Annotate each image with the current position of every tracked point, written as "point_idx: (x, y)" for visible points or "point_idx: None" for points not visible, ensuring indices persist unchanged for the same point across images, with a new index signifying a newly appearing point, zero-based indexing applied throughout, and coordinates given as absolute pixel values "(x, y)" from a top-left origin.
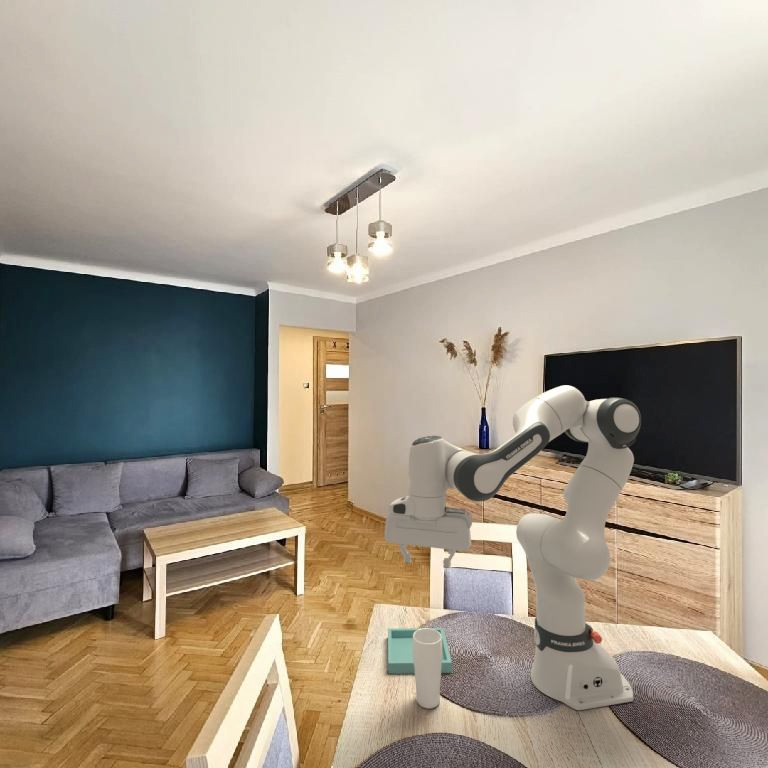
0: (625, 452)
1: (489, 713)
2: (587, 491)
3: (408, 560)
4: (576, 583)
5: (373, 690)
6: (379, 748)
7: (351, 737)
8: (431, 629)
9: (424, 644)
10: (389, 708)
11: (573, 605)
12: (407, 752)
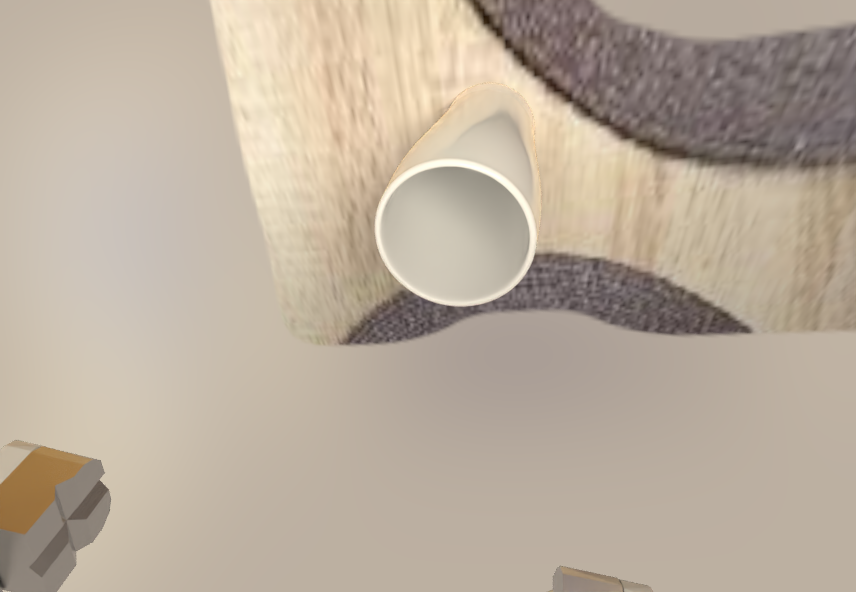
0: None
1: (723, 160)
2: None
3: (72, 543)
4: None
5: (280, 88)
6: (368, 311)
7: (286, 284)
8: (474, 169)
9: (444, 303)
10: (359, 171)
11: None
12: (441, 319)
